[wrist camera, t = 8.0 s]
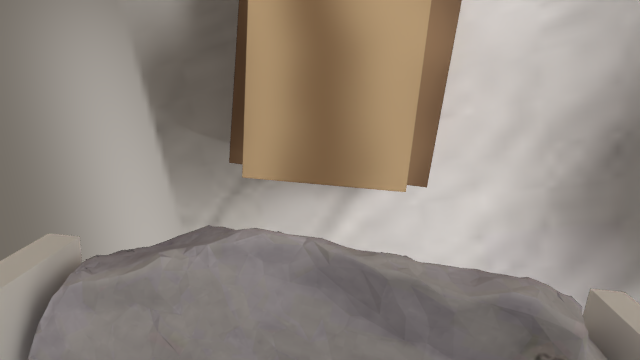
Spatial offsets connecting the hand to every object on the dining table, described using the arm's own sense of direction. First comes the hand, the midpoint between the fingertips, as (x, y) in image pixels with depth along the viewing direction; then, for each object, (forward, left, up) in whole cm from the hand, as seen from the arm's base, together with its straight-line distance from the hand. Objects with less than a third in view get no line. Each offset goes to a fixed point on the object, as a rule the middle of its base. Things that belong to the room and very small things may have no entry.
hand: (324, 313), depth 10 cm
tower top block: (+1, -5, -16) cm, 17 cm away
